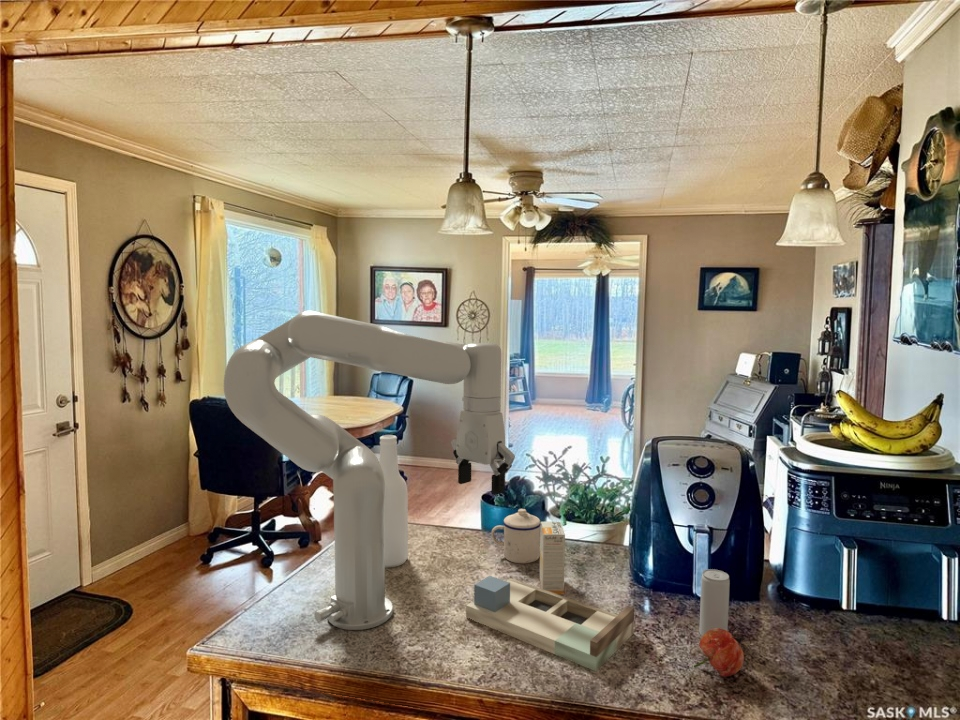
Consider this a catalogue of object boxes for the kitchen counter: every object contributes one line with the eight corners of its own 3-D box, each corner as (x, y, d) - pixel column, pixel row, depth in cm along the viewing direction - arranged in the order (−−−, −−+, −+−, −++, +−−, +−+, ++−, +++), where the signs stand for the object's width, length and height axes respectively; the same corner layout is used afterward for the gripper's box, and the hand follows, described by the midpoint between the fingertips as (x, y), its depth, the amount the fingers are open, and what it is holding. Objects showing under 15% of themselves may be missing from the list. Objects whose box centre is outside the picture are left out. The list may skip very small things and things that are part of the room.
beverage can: (726, 632, 113) (729, 571, 112) (727, 646, 109) (730, 582, 108) (698, 628, 115) (701, 567, 114) (699, 641, 110) (701, 578, 109)
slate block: (494, 612, 115) (494, 592, 115) (474, 604, 118) (474, 584, 118) (509, 602, 119) (510, 582, 119) (489, 594, 122) (489, 575, 122)
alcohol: (377, 551, 149) (375, 431, 147) (411, 554, 148) (411, 433, 145) (365, 567, 141) (364, 439, 138) (402, 569, 139) (401, 441, 137)
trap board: (596, 671, 101) (596, 642, 101) (466, 617, 118) (466, 592, 118) (633, 633, 113) (634, 607, 113) (510, 589, 130) (510, 566, 130)
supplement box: (564, 595, 128) (566, 534, 127) (542, 594, 128) (543, 534, 127) (560, 577, 136) (561, 520, 135) (539, 577, 136) (539, 520, 135)
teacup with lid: (541, 550, 151) (542, 504, 150) (539, 565, 142) (539, 517, 141) (494, 546, 153) (494, 501, 152) (488, 562, 144) (488, 514, 143)
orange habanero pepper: (705, 696, 99) (760, 670, 95) (678, 653, 100) (731, 627, 97) (707, 675, 105) (759, 651, 102) (682, 636, 107) (732, 611, 104)
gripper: (439, 401, 125) (439, 482, 127) (500, 412, 113) (498, 502, 115) (466, 397, 131) (465, 475, 132) (526, 408, 118) (525, 493, 120)
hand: (481, 487), depth 123 cm, fingers open, 9 cm apart
